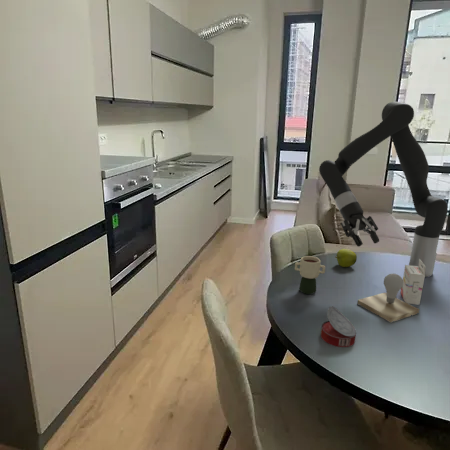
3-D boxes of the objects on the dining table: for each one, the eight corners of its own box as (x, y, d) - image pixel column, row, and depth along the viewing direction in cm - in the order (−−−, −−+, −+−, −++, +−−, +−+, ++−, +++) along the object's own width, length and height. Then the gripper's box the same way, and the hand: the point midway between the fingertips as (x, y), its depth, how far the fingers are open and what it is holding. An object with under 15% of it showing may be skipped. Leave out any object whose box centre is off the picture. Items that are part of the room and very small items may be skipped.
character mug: (322, 289, 144) (326, 257, 140) (322, 297, 137) (326, 264, 134) (293, 285, 146) (296, 254, 143) (292, 293, 140) (294, 260, 136)
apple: (331, 263, 171) (333, 246, 169) (350, 263, 172) (352, 246, 170) (338, 270, 163) (340, 252, 161) (358, 269, 164) (360, 252, 162)
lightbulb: (399, 301, 133) (404, 272, 130) (399, 309, 128) (404, 279, 125) (381, 297, 135) (385, 269, 132) (379, 305, 130) (384, 275, 127)
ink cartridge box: (399, 293, 143) (405, 256, 139) (413, 294, 142) (420, 258, 138) (405, 303, 135) (412, 265, 131) (420, 305, 134) (427, 266, 130)
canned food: (335, 341, 119) (349, 313, 119) (355, 357, 109) (371, 326, 109) (307, 330, 115) (322, 301, 115) (326, 345, 105) (342, 313, 105)
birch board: (384, 296, 140) (385, 292, 140) (418, 313, 128) (419, 309, 128) (357, 303, 134) (357, 299, 133) (390, 322, 122) (391, 318, 122)
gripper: (340, 202, 137) (361, 241, 130) (368, 199, 143) (389, 236, 137) (328, 213, 143) (348, 251, 136) (356, 209, 149) (375, 246, 143)
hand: (368, 244), depth 137 cm, fingers open, 8 cm apart
